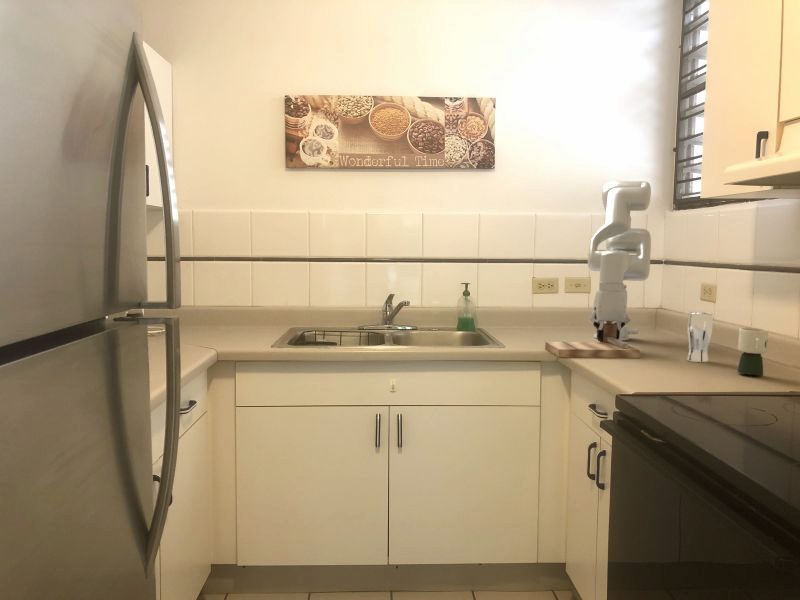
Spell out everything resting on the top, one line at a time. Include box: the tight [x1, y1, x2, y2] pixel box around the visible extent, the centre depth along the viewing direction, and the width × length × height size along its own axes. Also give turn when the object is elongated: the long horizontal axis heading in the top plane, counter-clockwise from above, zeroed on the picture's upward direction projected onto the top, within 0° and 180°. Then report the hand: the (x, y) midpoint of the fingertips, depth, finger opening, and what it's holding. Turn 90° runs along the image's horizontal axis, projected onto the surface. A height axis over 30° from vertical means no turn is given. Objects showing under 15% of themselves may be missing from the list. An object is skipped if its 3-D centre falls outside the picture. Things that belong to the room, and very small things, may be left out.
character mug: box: [737, 327, 769, 377], centre depth 175 cm, size 11×7×13 cm, turn 166°
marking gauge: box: [602, 321, 629, 348], centre depth 206 cm, size 4×15×9 cm, turn 4°
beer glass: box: [686, 311, 714, 364], centre depth 194 cm, size 7×7×15 cm
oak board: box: [544, 341, 640, 359], centre depth 203 cm, size 26×14×3 cm, turn 94°
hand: (607, 340), depth 213 cm, fingers closed on marking gauge, 4 cm apart
